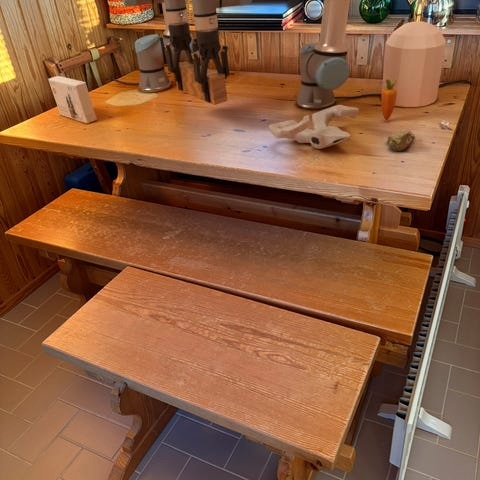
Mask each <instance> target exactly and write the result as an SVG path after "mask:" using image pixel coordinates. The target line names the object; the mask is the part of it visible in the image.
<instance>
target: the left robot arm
mask: <svg viewBox="0 0 480 480" xmlns="http://www.w3.org/2000/svg"><path fill="white" fill-rule="evenodd" d="M122 3H123V6H124V7H134V8H135V7H138V6H145V5H146V6H147V5H156V4H161V6H162V7H161V8H162V13H163V19H164V25H165V30H164V31H163V32H162V33H163V37H162V36H161V37H160V35H159V34H158V33H155V34H147V35H144V36H142V37H140V38H138V39H137V40H135V42H134V49H135V54H136V59H137V63H138V68H139V82H125V81H121V80H119V79H117V78H113V77H106V78H105V79H104V81H108V80H111V81H115V82H117V83H119V84H124V85H131V86H133V85H134V86H138V88H139V91H140V92H141V93H146V94H152V93H160V92H165V91H166V90H169V89H170V88H171V87H172V82H171V79H170V78H169V75H168V74H167V71H168V72H169V73H172V74H173V78H174V81H175V82H177V84H178V89H179V90H178V89H177V90H178V91H180V90H181V92H183V85H182V79H181V73H179V63H183V62H188V63H191V64H193V59H192V57H191V53H192V52H193V53H194V52H196V51H197V48H198V43H197V38H196V37H193V34H192V33H191V29H190V23H189V22H188V21H189V15H188V7H187V1H186V0H122ZM199 62H200V67H201V63H202V62H201V55H200V54H199ZM165 65H167V71H166V69H165ZM177 84H176V85H177Z"/></svg>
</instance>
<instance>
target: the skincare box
mask: <svg viewBox="0 0 480 480" xmlns="http://www.w3.org/2000/svg"><path fill="white" fill-rule="evenodd" d="M47 80H48V83H49V86H50V88H51V92H52V95H53V97H54V100H55V103H56V106H57V109H58V112H59V115H60V116H62V117H66V118H68V119H72V120H74V121H78V122H81V123H85V124H89V123H93V122H95V121H97V120H98V119H97V115H96V112H95V108H94V105H93V102H92V99H91V96H90V93H89V89H88V86H87V82H86V81H82V80H77V79H74V78H69V77H65V76H61V75H56V76H53V77H50V78H47Z"/></svg>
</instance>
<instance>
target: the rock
mask: <svg viewBox="0 0 480 480" xmlns="http://www.w3.org/2000/svg"><path fill="white" fill-rule="evenodd" d="M415 139H416V135H415V134H414V132H412V131H411V130H408V129H407V130H404V131H398V132H396V133H394V134H393V135H392V134H391V135H389V136H388V137H387V143H388V145H387V146H388V147H389V149H391V150H392V151H395V152H404V151H406V150H407V148H409V145H410V144H411V143H412V142H413V141H414V140H415Z"/></svg>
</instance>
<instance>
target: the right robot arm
mask: <svg viewBox="0 0 480 480" xmlns="http://www.w3.org/2000/svg"><path fill="white" fill-rule="evenodd" d="M252 2H253V0H191V7H192V13H193V21H194V29H195V30H196V32H195V36H196V37H195V38H197V43H198V48H197V51H196V52H194V53H193V52H192V53H191V57H192V59H193V67H194V77H195V82H197V83H199V84H201V90H202V93H204V98H205V101H204V102H206V103H208V104H211V103H210V94H209V86H208V83H206V79H207V70H208V69H209V64H210V61H211V60H212V61H213V64H214V66H215V69H216V72H218V73H221V74H225V80H227V78H228V77H229V76H230V74H231V73H230V65H229V58H228V50H229V46H228V45H224V44H222V45H221V43H220V33H219V29H218V28H219V23H218V14H217V13H218V12H217V9H222V8H228V7H229V8H230V7H239V6H240V7H243V6H245V5H251V3H252ZM350 3H351V0H323V6H322V14H321V15H322V17H321V25H320V32H319V41H318V42H312V43H311V42H310V43H307V44H303V45H302V46H301V48H300V54H299V55H300V88H299V90H298V94H297V97H296V106H297V107H298V108H300V109H303V110H310V111H317V110H318V111H319V110H320V111H321V110H325V109H328V108H330V107H334V106H335V104H336V100H354V99H359V98H364V97H381V93H366V94H365V93H363V94H360V95H359V94H358V95H354V96H335V93H334V90H337V89H339V88H341V87H342V86H343V85H344V84H345V83H346V82H347V80H348V78H349V77H350V65H349V63H348V62H347V57H348V47H347V46H346V45H345V40H346V34H347V33H346V32H347V25H348V18H349V12H350V11H349V10H350ZM219 53H220V55H219ZM199 55H200V61H201V66H200V62H199ZM200 67H201V72H200ZM225 83H226V81H225ZM458 83H466V84H468V85H471V86H472V85H473V83H472V82H471V81H470V80H467V79H458V80H453V81H447V82H443V83H439V88H440V87H444V86H447V85H452V84H458Z"/></svg>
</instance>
